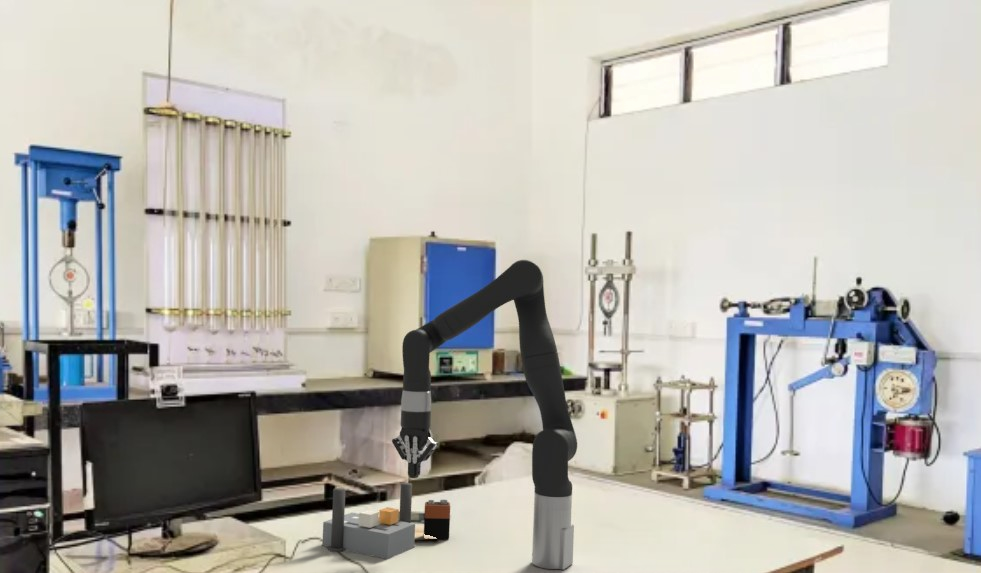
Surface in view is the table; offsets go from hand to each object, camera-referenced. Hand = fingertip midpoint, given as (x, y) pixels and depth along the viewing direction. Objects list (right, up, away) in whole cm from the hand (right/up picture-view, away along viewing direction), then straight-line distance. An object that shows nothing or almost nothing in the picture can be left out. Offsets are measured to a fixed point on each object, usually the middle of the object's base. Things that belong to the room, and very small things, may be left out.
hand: (413, 477), depth 210 cm
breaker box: (-12, -18, +3) cm, 22 cm away
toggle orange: (-7, -12, +3) cm, 14 cm away
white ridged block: (-11, -12, -1) cm, 16 cm away
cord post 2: (-3, -19, +9) cm, 21 cm away
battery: (+5, -19, +14) cm, 24 cm away
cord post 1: (-19, -18, 0) cm, 26 cm away
